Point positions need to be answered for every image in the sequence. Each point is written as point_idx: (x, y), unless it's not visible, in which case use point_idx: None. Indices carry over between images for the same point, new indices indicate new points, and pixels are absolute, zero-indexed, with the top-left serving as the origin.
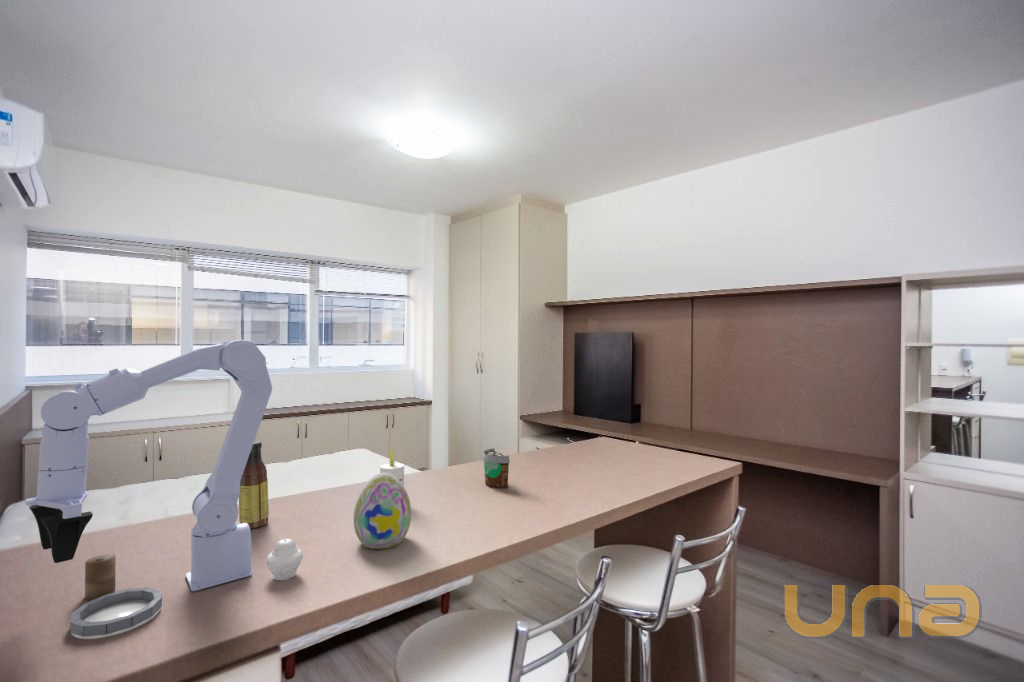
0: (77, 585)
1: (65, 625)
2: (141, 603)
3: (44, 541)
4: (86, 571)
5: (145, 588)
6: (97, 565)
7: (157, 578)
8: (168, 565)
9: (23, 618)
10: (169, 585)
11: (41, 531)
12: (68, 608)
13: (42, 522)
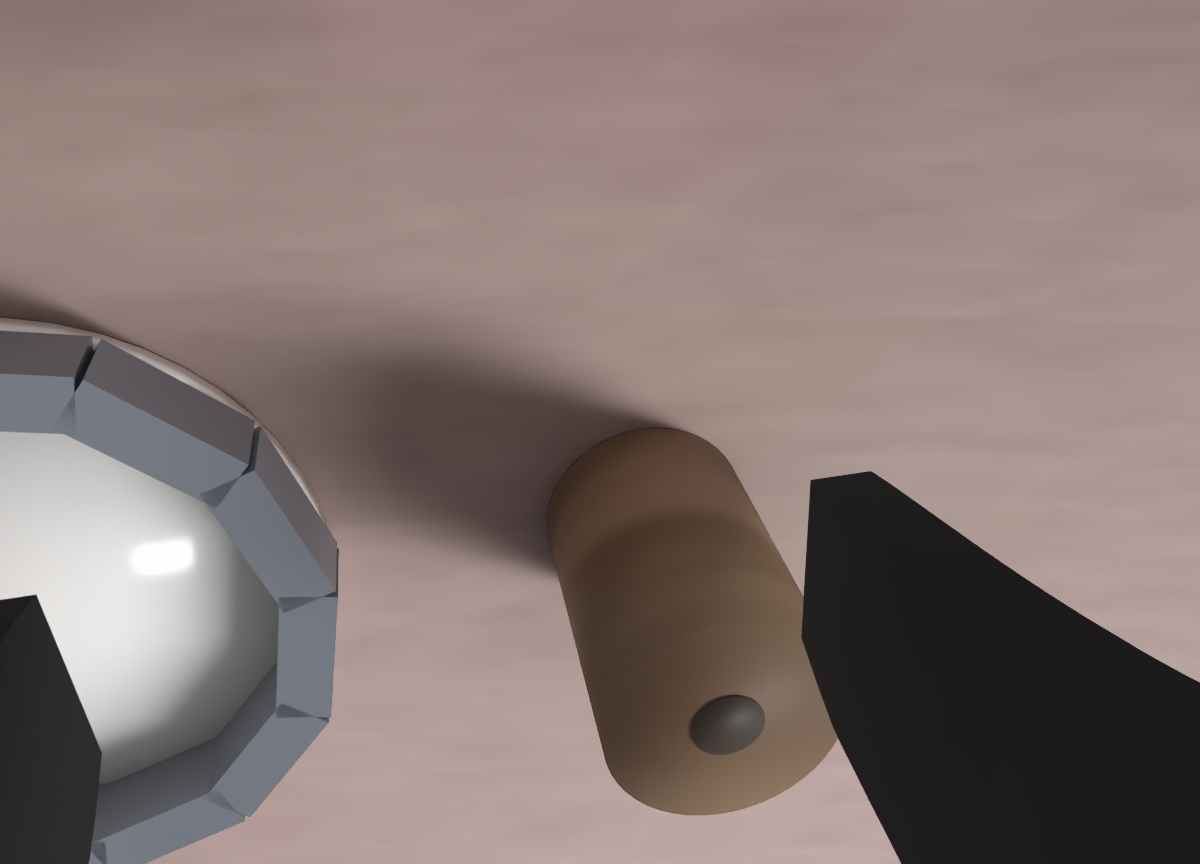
0: (982, 397)
1: (183, 292)
2: (138, 730)
3: (859, 567)
4: (677, 581)
5: (233, 808)
6: (608, 692)
7: (607, 800)
8: (787, 855)
9: (629, 29)
10: (406, 849)
11: (981, 661)
12: (545, 325)
13: (1087, 825)
